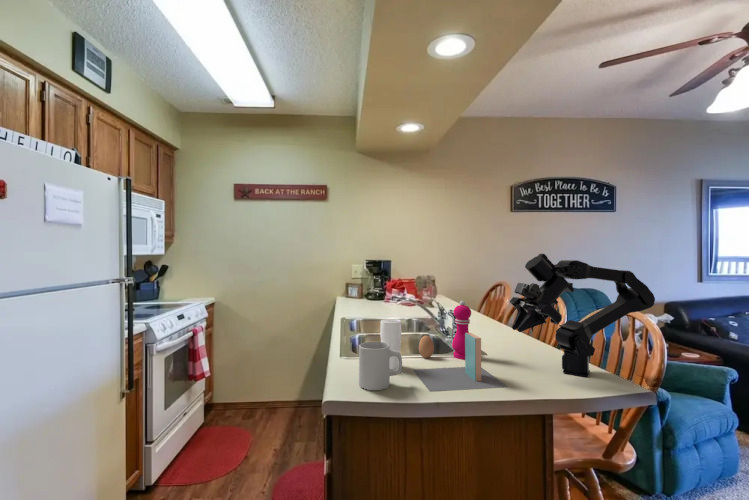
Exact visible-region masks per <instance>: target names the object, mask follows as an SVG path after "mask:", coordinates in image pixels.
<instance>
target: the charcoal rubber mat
mask: <svg viewBox="0 0 749 500" xmlns="http://www.w3.org/2000/svg"><path fill="white" fill-rule="evenodd" d="M412 370H413V372H414V374H415V375H416V376H417V377H418V379H419V380H420V381H421V382H422V384H423V385H424V387H426V389H427V390H428V391H429V393H431V392H433V393H434V392H447V391H448V392H449V391H464V390H465V391H466V390H467V391H469V390H484V389H487V390H488V389H500V388H502V389H503V388H509V385H507V384H506V383H504V382H503V381H501V380H500V379H498V378H497V377H496V376H494V375H493V374H491V373H490V371H489V372H488V371H487V370H485V368H483V367H481V381H475V380H473V379H472V378H471V377H470V376H468V375H467V374H466V373H465V366H455V367H453V366H452V367H435V368H433V367H431V368H417V369H415V368H413V369H412Z"/></svg>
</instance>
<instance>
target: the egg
mask: <svg viewBox="0 0 749 500" xmlns="http://www.w3.org/2000/svg"><path fill="white" fill-rule="evenodd" d="M434 350H435V349H434V342H433V340H432V338H431V337H430V336H429V335H423V336H422V337H421V339H420V340H419V343H418V352H419V354H420V357H422V358H423V359H429V358H432V356H433V354H434Z"/></svg>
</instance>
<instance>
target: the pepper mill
mask: <svg viewBox="0 0 749 500" xmlns="http://www.w3.org/2000/svg"><path fill="white" fill-rule="evenodd" d="M453 315H454V317H455V319H454V322H455V325H456V332H455V335H454V337H453V339H452V342H451V348H452V349H453V350H454V351H453V355H452V356H453V358H454V359H456V360H457V359H458V360H464V361H465V333H470V332H469V324H471V322H470V321H471V320H470V317H471V316H472V310H471V308H470V307H469V306H468V305H466V302H465V301H464V300H460V301H459V304H458V305H456V306H455V307H454V309H453Z"/></svg>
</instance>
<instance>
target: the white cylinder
mask: <svg viewBox="0 0 749 500" xmlns="http://www.w3.org/2000/svg"><path fill="white" fill-rule="evenodd" d="M379 324H380V326H379V327H380V330H379V331H380V332H379V333H380V342H383V343H387V344H388V345H389V350H394V351H398V352H399V353H400V354H401V345H402V343H401V342H402V333H403V332H402V320H400V319H397V318H383V319H381V320H380V323H379ZM389 366H390V369H392V370H396V369H397V368H398V366H399V360H398V358H397V357H396V356H392V357H390V360H389Z"/></svg>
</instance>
